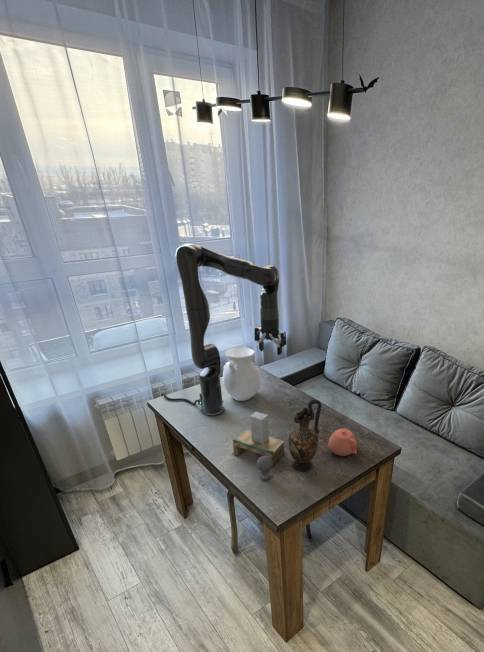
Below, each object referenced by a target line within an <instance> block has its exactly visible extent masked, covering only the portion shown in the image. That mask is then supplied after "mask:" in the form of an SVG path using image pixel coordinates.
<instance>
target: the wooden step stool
mask: <svg viewBox="0 0 484 652" xmlns="http://www.w3.org/2000/svg"><path fill="white" fill-rule="evenodd" d="M232 446H233V455H235V456H240V454H242V452H244V450H246V451H250V452H253V453H257V454H259V455H262V456H268V457H270V458H271V459H272V461H273V466H274V465H275V464H276V463H277V462H278V461H279V460H280V458H281V457H282V456H284V453H285V440H282V439H278V438H275V437H271V436H269V440H268V441H267V442H266V443H265V444H261V443H257V442H254V441H252V437H251V430H248V429H246V430H245V431H243V433H241V435H239V436H238V437H237V438H236V437H235V438H234V437H233V438H232Z"/></svg>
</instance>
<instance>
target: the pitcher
mask: <svg viewBox="0 0 484 652" xmlns="http://www.w3.org/2000/svg"><path fill="white" fill-rule="evenodd" d="M225 356H226V358H227V360H228V361H227V362H225V364H224V365H223V368H222V369H223V371H222V385H223V387H224V389H225V391H226V392H227V394H228V396H230V397H231V398H233V399H234V400H235V401H238V402H245V401H248V400H251V398H253V397H255V395H256V393H258V391H259V390H260V388H261V374H260V370H259V368H258V367H257V366H256V362H253V359H254V357H255V350H253V349H252V348H250V347H247V346H235V347H234V346H233V347H230V348H228V349H227V350H226V351H225Z"/></svg>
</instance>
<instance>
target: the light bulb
mask: <svg viewBox="0 0 484 652" xmlns="http://www.w3.org/2000/svg"><path fill="white" fill-rule="evenodd" d="M273 467H274V465H273V461H272V459H271V458H270V457H268V456H266V455H262V456H260V457H259V458H258V459H257V461H256V468H257V470H259V471H260V474H261V479H263V480H268V479H269V478H270V471H271V470H272V469H273Z"/></svg>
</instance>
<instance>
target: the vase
mask: <svg viewBox="0 0 484 652" xmlns="http://www.w3.org/2000/svg"><path fill="white" fill-rule="evenodd" d="M313 405H317V408H316V411H315V413H314V410H313ZM321 412H322V402H320V400H318V399H311V400H310V401H308V403H307V407H303V408H302V410H300V411H299V412H297V413H296V414H295V415H294V417H293V421H294V423H295V424H299V426H298V428H295V429H293V430H292V431H290V433H289V434H288V438H287V445H288V450H289V453H290V456H291V458H292V459H293V460H294V463H293V468H294V469H295V470H297V471H299V472H304V471H308V470H310V469H311V467H312V463H311V461H312V459H314V457H315V456H316V454H317V451H318V447H319V436H318V435H319V434H320V430H319V420H320V415H321ZM313 420H314V426H313V429H312V428H310V427H309V426H310V425H309V424H310V423H311V421H313Z"/></svg>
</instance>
